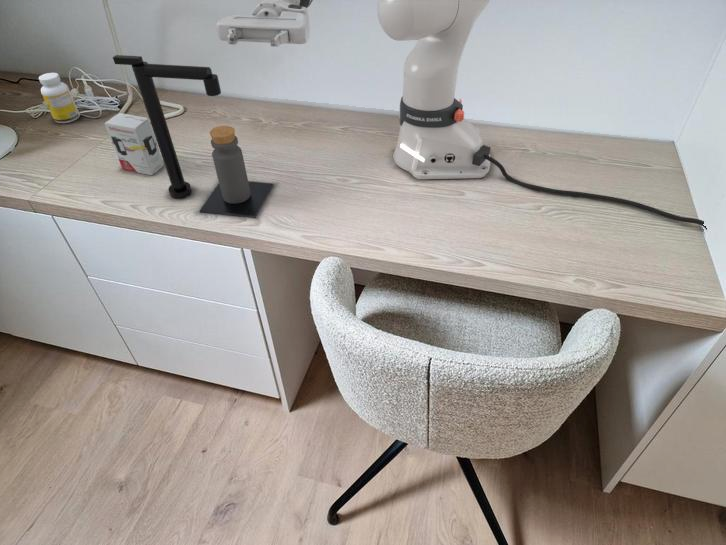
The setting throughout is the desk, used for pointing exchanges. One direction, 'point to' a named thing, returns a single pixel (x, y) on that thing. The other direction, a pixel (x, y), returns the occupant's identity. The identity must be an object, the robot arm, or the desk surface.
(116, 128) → the ink box
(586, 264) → the desk surface
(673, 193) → the desk surface
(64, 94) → the pill bottle
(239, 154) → the bottle
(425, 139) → the robot arm
